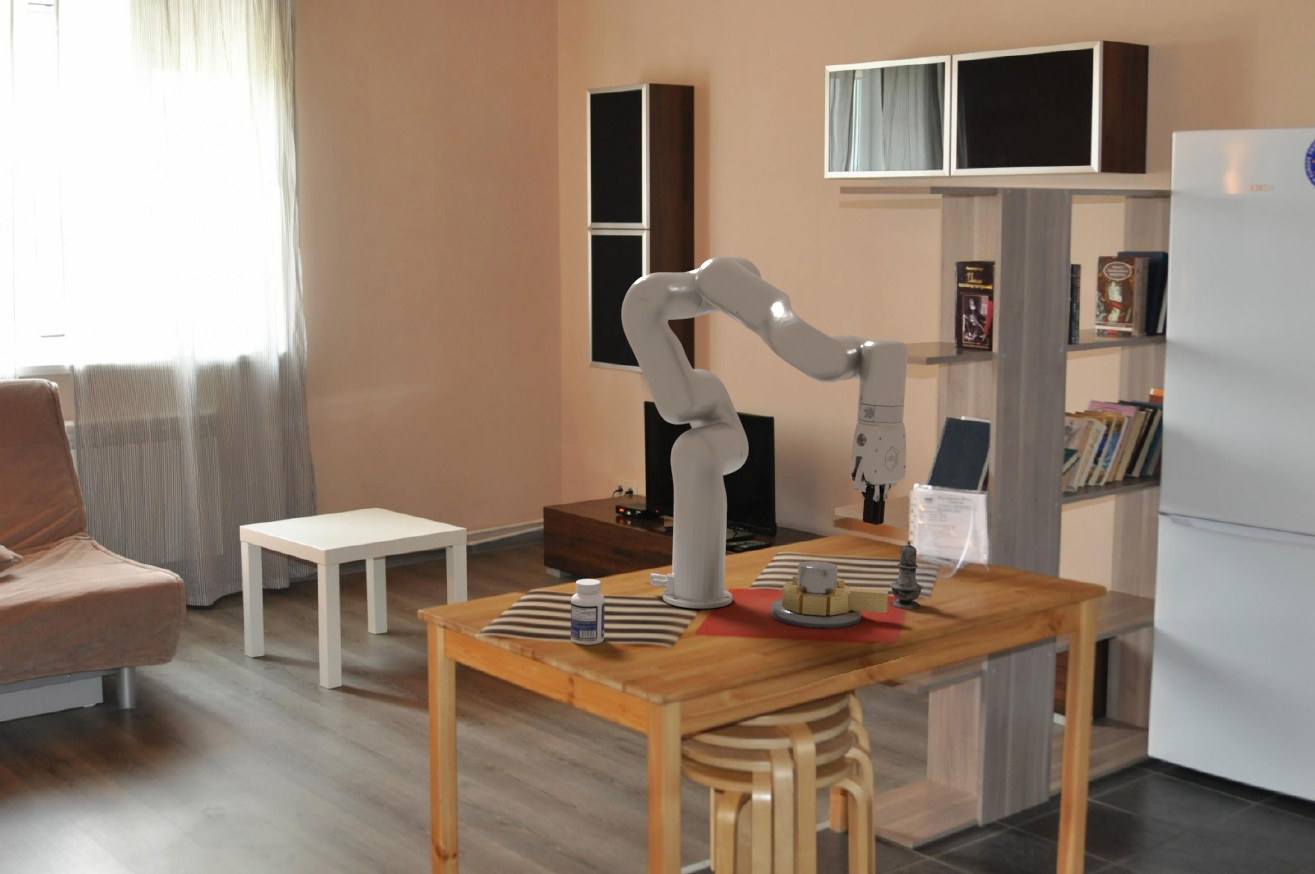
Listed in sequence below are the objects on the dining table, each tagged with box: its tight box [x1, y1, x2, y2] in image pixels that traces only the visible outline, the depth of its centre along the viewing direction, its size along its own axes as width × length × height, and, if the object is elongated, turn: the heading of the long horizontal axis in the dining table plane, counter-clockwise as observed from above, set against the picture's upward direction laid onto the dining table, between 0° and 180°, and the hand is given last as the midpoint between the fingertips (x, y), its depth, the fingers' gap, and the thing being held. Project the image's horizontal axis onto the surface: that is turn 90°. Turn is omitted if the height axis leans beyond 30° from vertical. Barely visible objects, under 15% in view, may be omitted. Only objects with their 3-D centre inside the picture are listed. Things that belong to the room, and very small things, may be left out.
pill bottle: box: [570, 578, 606, 646], centre depth 213 cm, size 5×5×10 cm
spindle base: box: [770, 560, 862, 630], centre depth 232 cm, size 16×16×9 cm
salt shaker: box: [889, 540, 924, 610], centre depth 241 cm, size 6×6×12 cm
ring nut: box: [781, 575, 889, 616], centre depth 231 cm, size 18×12×4 cm, turn 80°
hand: (872, 522), depth 223 cm, fingers closed
